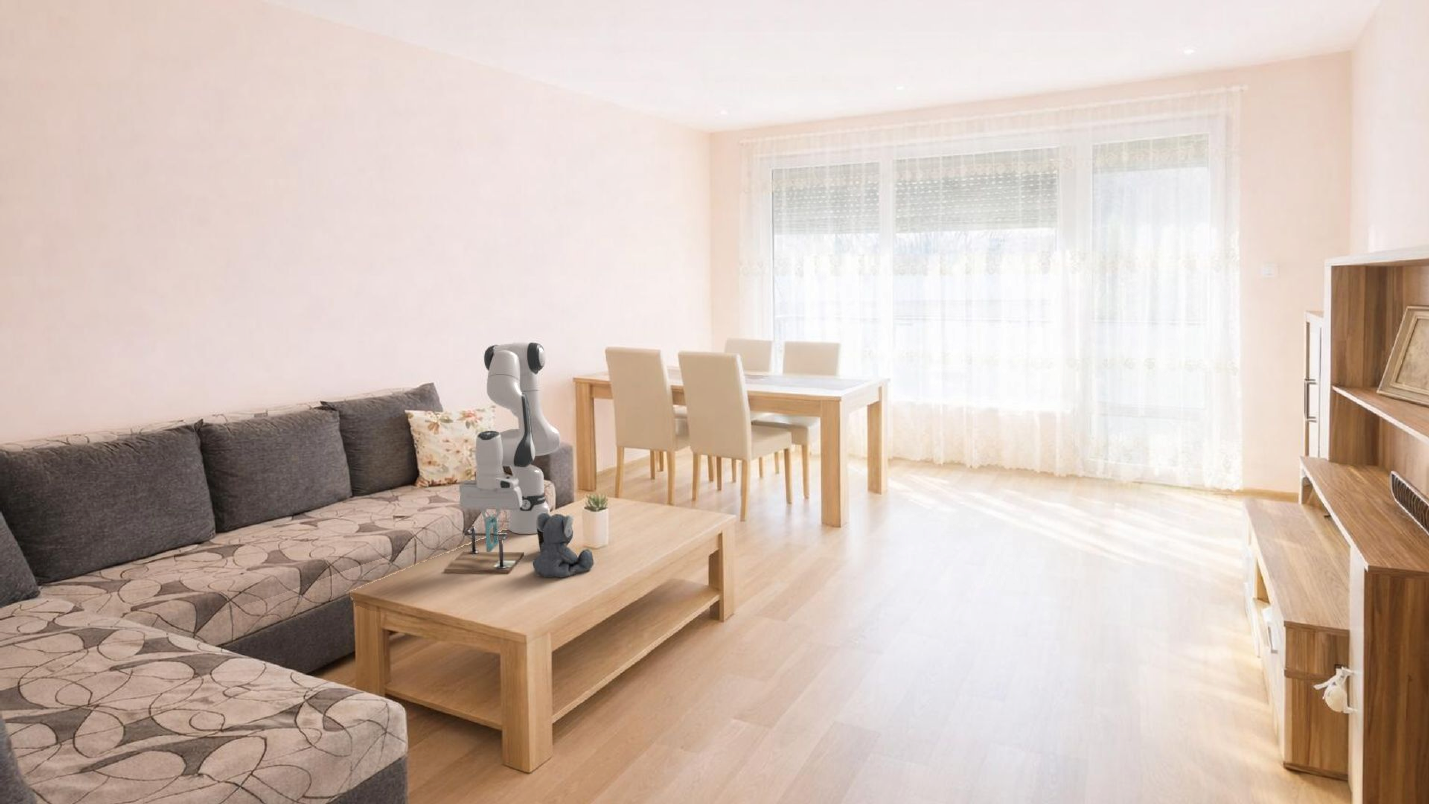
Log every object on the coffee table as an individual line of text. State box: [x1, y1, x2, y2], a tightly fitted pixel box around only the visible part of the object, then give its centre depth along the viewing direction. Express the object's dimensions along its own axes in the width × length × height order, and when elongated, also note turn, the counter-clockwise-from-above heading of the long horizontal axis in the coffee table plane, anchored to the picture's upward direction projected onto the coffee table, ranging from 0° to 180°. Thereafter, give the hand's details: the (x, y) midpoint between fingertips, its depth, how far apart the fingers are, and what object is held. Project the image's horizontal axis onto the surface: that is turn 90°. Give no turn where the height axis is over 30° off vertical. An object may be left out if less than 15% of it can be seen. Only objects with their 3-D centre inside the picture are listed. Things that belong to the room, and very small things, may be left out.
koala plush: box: [532, 512, 595, 579], centre depth 276 cm, size 17×18×20 cm
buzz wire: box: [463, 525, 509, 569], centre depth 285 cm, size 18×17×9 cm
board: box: [444, 551, 525, 575], centre depth 285 cm, size 18×21×1 cm
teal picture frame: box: [484, 513, 499, 552], centre depth 284 cm, size 1×9×10 cm, turn 177°
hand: (491, 522), depth 283 cm, fingers closed on teal picture frame, 1 cm apart
